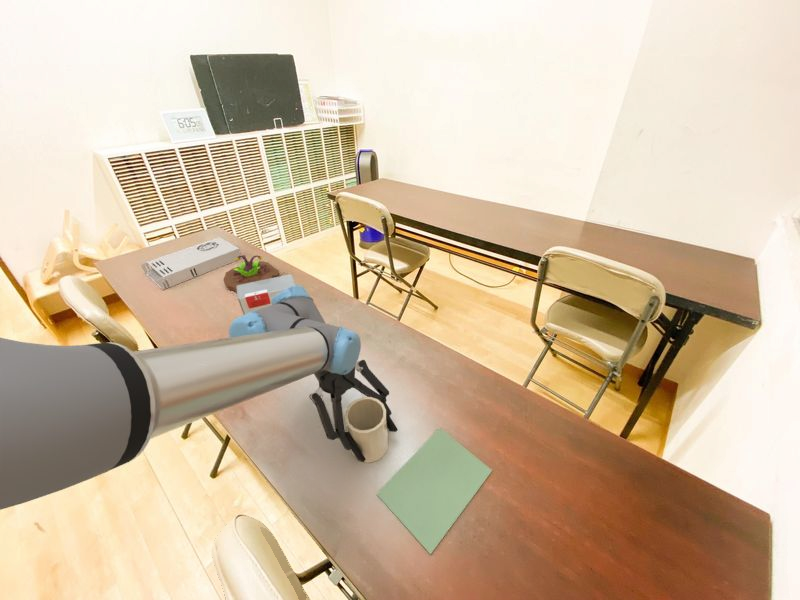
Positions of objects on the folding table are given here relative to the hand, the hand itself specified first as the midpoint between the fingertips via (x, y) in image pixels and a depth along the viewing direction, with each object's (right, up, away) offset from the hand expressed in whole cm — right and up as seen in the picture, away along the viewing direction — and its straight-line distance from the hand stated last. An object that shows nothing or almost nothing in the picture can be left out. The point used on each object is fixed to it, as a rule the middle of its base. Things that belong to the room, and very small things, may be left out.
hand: (378, 444), depth 68 cm
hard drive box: (-33, +19, +34) cm, 51 cm away
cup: (-2, -2, +4) cm, 5 cm away
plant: (-56, +39, +62) cm, 92 cm away
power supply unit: (-84, +45, +71) cm, 119 cm away
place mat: (+12, -7, -3) cm, 14 cm away
